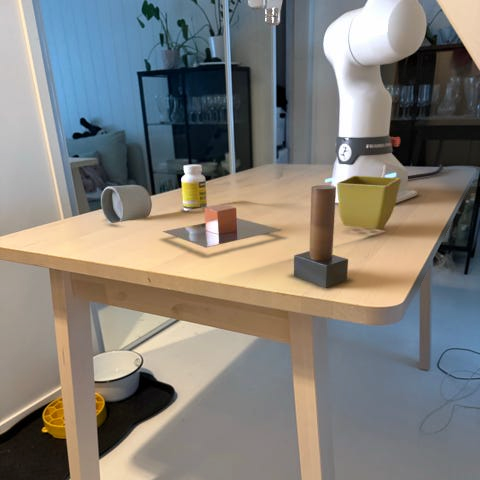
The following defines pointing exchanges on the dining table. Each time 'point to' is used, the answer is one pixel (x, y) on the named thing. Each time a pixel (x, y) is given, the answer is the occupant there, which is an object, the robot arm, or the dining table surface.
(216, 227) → the terracotta orange cube
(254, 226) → the polished metal plate
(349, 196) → the flower pot
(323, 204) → the mallet with wooden handle
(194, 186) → the supplement bottle
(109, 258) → the dining table surface
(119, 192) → the ceramic mug
